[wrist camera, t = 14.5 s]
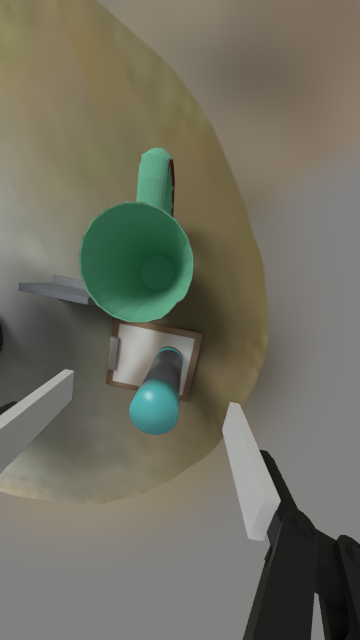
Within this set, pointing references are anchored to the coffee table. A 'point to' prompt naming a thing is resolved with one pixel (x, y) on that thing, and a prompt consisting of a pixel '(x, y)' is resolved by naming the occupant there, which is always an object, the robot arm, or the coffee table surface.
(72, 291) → the gray bookend
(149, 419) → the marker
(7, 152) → the coffee table surface
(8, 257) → the coffee table surface
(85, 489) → the coffee table surface
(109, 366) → the clipboard
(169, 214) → the mug
